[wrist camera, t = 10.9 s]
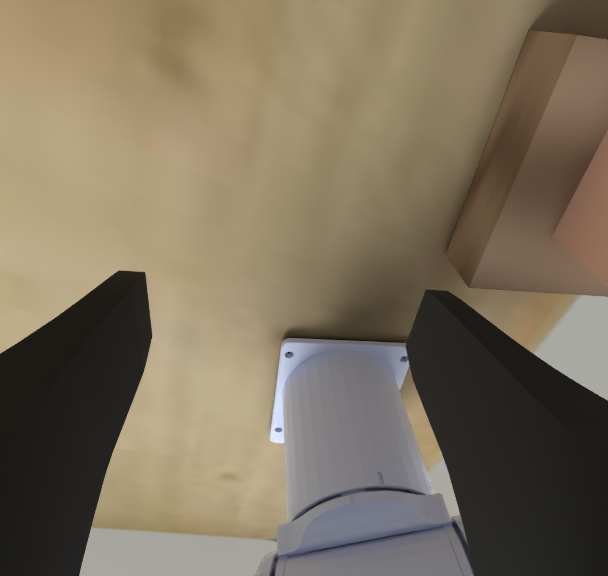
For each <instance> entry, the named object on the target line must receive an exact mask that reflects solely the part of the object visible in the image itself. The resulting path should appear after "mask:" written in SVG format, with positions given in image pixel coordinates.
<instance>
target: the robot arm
mask: <svg viewBox="0 0 608 576" xmlns="http://www.w3.org/2000/svg"><path fill="white" fill-rule="evenodd" d="M151 339H152V329H151V320H150V311H149V302H148V293H147V284H146V275H145V272H133V271H118V272H116V273H115V274H113V275H112V276H111V277H109V278H108V279H107V280H105V281H104V282H103V283H101V284H100V285H99V286H98V287H96V288H95V289H94V290H92V291H91V292H90V293H88V294H87V295H86V296H85V297H83V298H82V299H80V300H79V301H78V302H76V303H75V304H74V305H72V306H71V307H70V308H68V309H67V310H66V311H64V312H63V313H61V314H60V315H59V316H57V317H56V318H54V319H53V320H51V321H50V322H48V323H47V324H45V325H44V326H42V327H41V328H39V329H38V330H36V331H35V332H33V333H32V334H30V335H29V336H27V337H26V338H24V339H23V340H21V341H20V342H18V343H17V344H15V345H14V346H12V347H10V348H9V349H7V350H6V351H4V352H2V353H0V576H79V573H80V569H81V565H82V561H83V557H84V553H85V549H86V545H87V541H88V537H89V533H90V530H91V526H92V522H93V518H94V514H95V510H96V507H97V503H98V499H99V496H100V492H101V488H102V485H103V481H104V477H105V474H106V471H107V468H108V465H109V462H110V459H111V456H112V453H113V450H114V448H115V445H116V442H117V440H118V437H119V435H120V432H121V430H122V427H123V424H124V422H125V419H126V417H127V414H128V412H129V409H130V406H131V404H132V401H133V399H134V396H135V393H136V391H137V388H138V386H139V383H140V380H141V378H142V375H143V372H144V369H145V365H146V361H147V357H148V352H149V348H150V344H151ZM286 352H292V353H286ZM403 356H405V357H404V358H401V357H403ZM409 365H410V369H411V373H412V377H413V380H414V383H415V386H416V389H417V391H418V394H419V396H420V399H421V401H422V404H423V407H424V409H425V412H426V414H427V417H428V419H429V422H430V424H431V427H432V429H433V432H434V434H435V437H436V439H437V442H438V444H439V447H440V449H441V452H442V455H443V457H444V460H445V463H446V466H447V469H448V472H449V475H450V479H451V483H452V486H453V490H454V493H455V497H456V500H457V504H458V507H459V511H460V515H458V516H453V517H452V518H450V516H449V513H448V510H447V507H446V504H445V501H444V499H443V496H442V494H440V493H438V494H435V493H434V491H433V487H432V485H431V482H430V479H429V476H428V473H427V470H426V467H425V464H424V461H423V458H422V455H421V453H420V450H419V447H418V444H417V441H416V438H415V435H414V432H413V429H412V426H411V423H410V420H409V418H408V415H407V412H406V409H405V406H404V403H403V400H402V397H401V394H400V389H401V386H402V384H403V381H404V379H405V376H406V373H407V371H408V368H409ZM270 440H271V441H272V442H274V443H284V446H285V470H286V495H287V519H288V523H287V524H283V525H279V526H278V527H277V546H278V551H274V552H270V553H268V554H266V555H265V556H264V557H263V559H262V561H261V563H260V565H259V567H258V570H257V571H256V573H255V575H254V576H608V401H607V400H606V399H604V398H602V397H600V396H599V395H597V394H595V393H593V392H592V391H590V390H588V389H587V388H585V387H583V386H582V385H580V384H578V383H577V382H575V381H573V380H572V379H570V378H568V377H567V376H565V375H564V374H562V373H561V372H559V371H558V370H556V369H554V368H553V367H551V366H550V365H548V364H547V363H546V362H544V361H543V360H541V359H540V358H538V357H537V356H535V355H534V354H533V353H531V352H530V351H528V350H527V349H526V348H524V347H523V346H521V345H520V344H519V343H517V342H516V341H514V340H513V339H512V338H510V337H509V336H508V335H506V334H505V333H504V332H502V331H501V330H500V329H498V328H497V327H496V326H495V325H493V324H492V323H491V322H489V321H488V320H487V319H485V318H484V317H483V316H482V315H480V314H479V313H478V312H476V311H475V310H474V309H472V308H471V307H470V306H468V305H467V304H466V303H464V302H463V301H462V300H460V299H459V298H457V297H456V296H454V295H453V294H451V293H450V292H448V291H439V290H426V291H425V293H424V296H423V299H422V302H421V305H420V307H419V310H418V313H417V316H416V319H415V321H414V324H413V327H412V330H411V332H410V335H409V338H408V341H407V343H393V342H370V341H347V340H324V339H302V338H287V339H285V340H283V341H282V344H281V350H280V358H279V366H278V374H277V382H276V390H275V398H274V406H273V414H272V421H271V429H270Z"/></svg>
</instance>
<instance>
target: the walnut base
mask: <svg viewBox="0 0 608 576" xmlns="http://www.w3.org/2000/svg"><path fill="white" fill-rule="evenodd" d="M607 130H608V40H607V39H601V38H594V37H588V36H582V35H574V34H564V33H554V32H544V31H534V30H528V33H527V36H526V39H525V41H524V44H523V47H522V49H521V52H520V55H519V57H518V60H517V63H516V66H515V68H514V71H513V74H512V76H511V79H510V82H509V84H508V87H507V90H506V93H505V95H504V98H503V101H502V103H501V106H500V109H499V112H498V114H497V117H496V120H495V122H494V125H493V128H492V130H491V133H490V136H489V139H488V141H487V144H486V147H485V149H484V152H483V155H482V157H481V160H480V163H479V166H478V168H477V171H476V174H475V176H474V179H473V182H472V185H471V187H470V190H469V193H468V195H467V198H466V201H465V203H464V206H463V209H462V212H461V214H460V217H459V220H458V222H457V225H456V228H455V230H454V233H453V236H452V239H451V241H450V244H449V247H448V249H447V252H446V256H447V258H448V259H449V261H450V262H451V263H452V265H453V266H454V268H455V269H456V270H457V272H458V273H459V275H460V276H461V277H462V279H463V280H464V282H465V283H466V284H467V286H468V287H469V288H482V289H498V290H514V291H529V292H545V293H561V294H576V295H592V296H607V297H608V285H607V284H606V283H605V282H604V281H602V280H601V279H600V278H599V277H597V276H596V275H595V274H594V273H593V272H591V271H590V270H589V269H588V268H587V267H585V266H584V265H583V264H582V263H580V262H579V261H578V260H577V259H576V258H574V257H573V256H572V255H571V254H570V253H568V252H567V251H566V250H565V249H563V248H562V247H561V246H560V245H559V244H557V243H556V242H555V241H554V240H553V239H551V237H552V235H553V234H554V232H555V230H556V228H557V226H558V224H559V222H560V220H561V218H562V216H563V214H564V212H565V211H566V209H567V207H568V205H569V203H570V201H571V199H572V197H573V195H574V193H575V191H576V190H577V188H578V186H579V184H580V182H581V180H582V178H583V176H584V174H585V172H586V170H587V168H588V167H589V165H590V163H591V161H592V159H593V157H594V155H595V153H596V151H597V149H598V147H599V145H600V144H601V142H602V140H603V138H604V136H605V134H606V132H607Z"/></svg>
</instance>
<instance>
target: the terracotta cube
mask: <svg viewBox="0 0 608 576" xmlns="http://www.w3.org/2000/svg"><path fill="white" fill-rule="evenodd" d="M551 239H553V240H554V241H555V242H556V243H557V244H559V245H560V246H561V247H562V248H563V249H565V250H566V251H567V252H568V253H570V254H571V255H572V256H573V257H574V258H576V259H577V260H578V261H579V262H580V263H582V264H583V265H584V266H585V267H587V268H588V269H589V270H590V271H591V272H593V273H594V274H595V275H596V276H597V277H599V278H600V279H601V280H602V281H604V282H605V283H606V284H607V285H608V130H607V132H606V134H605V136H604V138H603V140H602V142H601V144H600V145H599V147H598V149H597V151H596V153H595V155H594V157H593V159H592V161H591V163H590V165H589V167H588V168H587V170H586V172H585V174H584V176H583V178H582V180H581V182H580V184H579V186H578V188H577V190H576V191H575V193H574V195H573V197H572V199H571V201H570V203H569V205H568V207H567V209H566V211H565V212H564V214H563V216H562V218H561V220H560V222H559V224H558V226H557V228H556V230H555V232H554V234H553V235H552V237H551Z"/></svg>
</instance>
